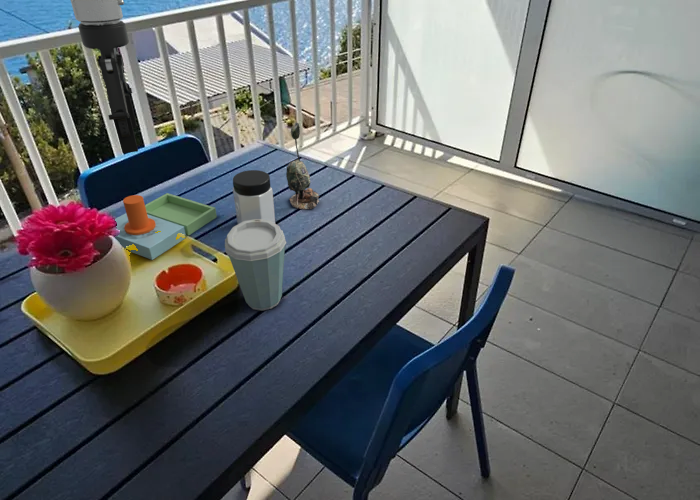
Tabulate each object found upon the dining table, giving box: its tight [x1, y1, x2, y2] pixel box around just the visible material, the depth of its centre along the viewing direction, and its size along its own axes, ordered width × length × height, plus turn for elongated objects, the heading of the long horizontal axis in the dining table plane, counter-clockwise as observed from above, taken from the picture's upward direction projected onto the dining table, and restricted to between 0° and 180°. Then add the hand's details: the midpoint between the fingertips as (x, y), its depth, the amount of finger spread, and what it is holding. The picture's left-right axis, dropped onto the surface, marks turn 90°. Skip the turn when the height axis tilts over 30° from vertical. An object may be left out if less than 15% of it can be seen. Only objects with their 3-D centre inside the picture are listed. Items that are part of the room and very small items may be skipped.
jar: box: [232, 169, 276, 225], centre depth 114 cm, size 9×8×12 cm
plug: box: [122, 194, 156, 235], centre depth 108 cm, size 6×6×10 cm
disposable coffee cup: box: [224, 219, 287, 312], centre depth 90 cm, size 11×11×15 cm
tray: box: [145, 192, 218, 236], centre depth 118 cm, size 16×10×3 cm, turn 62°
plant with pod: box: [284, 121, 320, 210], centre depth 120 cm, size 8×11×20 cm
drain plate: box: [114, 212, 187, 261], centre depth 110 cm, size 16×10×3 cm, turn 62°
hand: (130, 139), depth 98 cm, fingers open, 13 cm apart
